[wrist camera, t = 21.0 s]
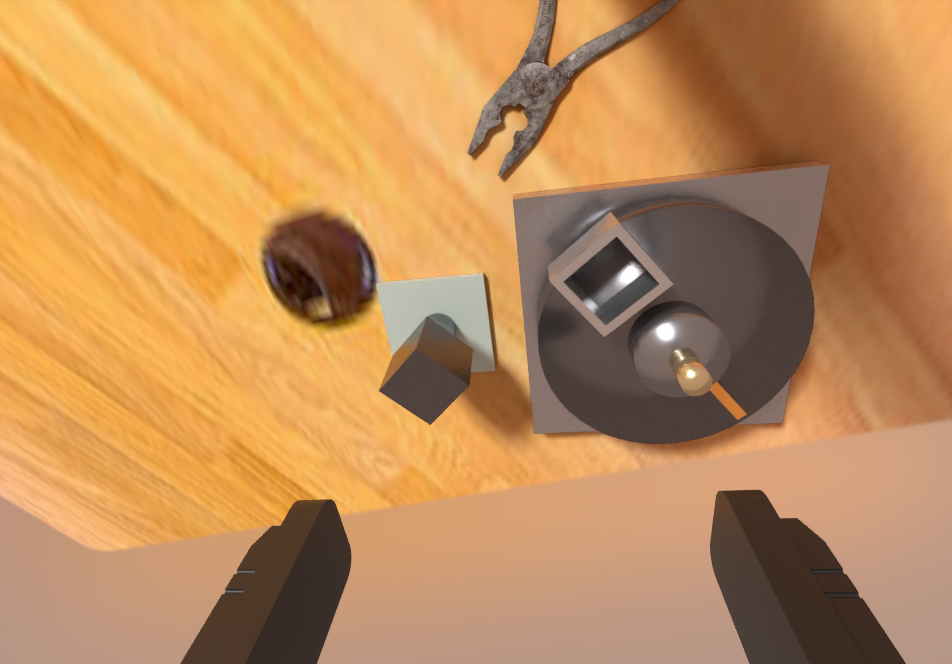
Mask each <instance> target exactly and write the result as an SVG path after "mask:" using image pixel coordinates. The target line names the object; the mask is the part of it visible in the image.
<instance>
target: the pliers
mask: <svg viewBox="0 0 952 664" xmlns="http://www.w3.org/2000/svg"><path fill="white" fill-rule="evenodd" d="M677 1H678V0H661V1H660V2H659V3H658V4H657V5H655V6H654V7H653V8H652V9H650V10H648V11H647V12H645V13H643V14H642V15H640V16H638V17H636V18H635V19H633V20H631V21H629V22H627V23H625V24H623V25H621V26H619V27H617V28H615V29H614V30H612V31H609V32H607V33H605V34H603V35H601V36H599V37H597V38H595V39H593V40H591V41H589V42H588V43H586V44H584V45H582V46H581V47H579V48H578V49H577V50H575V51H574V52H572V53H571V54H569V55H568V56H567V57H566V58H564V59H563V60H562V61H561V62H559V63H558V64H557V65H556V66H555V67H553V68H550V67H548V66H547V65H545V64H544V58H545V56H546V53H547V49H548V45H549V41H550V37H551V32H552V27H553V22H554V14H555V5H556V0H540V4H539V10H538V16H537V21H536V25H535V29H534V33H533V36H532V38H531V41H530V43H529V46H528V48H527V49H526V51H525V53H524V55H523V57H522V59H521V61H520V63H519V65H518V67H517V69H516V71H517V72H516V71H514V72H513V73H512V74H511V76H510V77H509V78H508V79H507V80H506V81H505V83H504V84H503V85H502V86H501V87H500V88H499V90H498V91H497V92H496V93H495V94H494V96H493V97H492V98H491V99H490V100H489V101H488V103H487V104H486V105H485V106H484V108H483V111H482V114H481V116H480V119H479V122H478V125H477V128H476V130H475V133H474V136H473V139H472V142H471V144H470V147H469V150H468V154H469V155H470V154H471V153H472V152H473V151H474V150H475V149H476V148H477V147H478V146H479V145H480V144H481V143H482V142H483V141H484V139H485V137H486V134H487V131H488V130H489V129H490V128H491V127H494V126H498V125H499V123H500V122H501V121H502V119H501V116H500V112H501V109H502V107H503V106H506V105H508V104H509V105H512V106H516V105H517V104H518V103H520V104H521V105H523V106H524V107H525V110H524V114H525V115H526V117H527V118H528V126H527V127H526V128H525V129H524V130H523V131H516V132H515V135H514V146H513V148H512V150H511V151H510V152H509V153H508V154H506V157H505V159H504V161H503V164H502V166H501V169H500V171H499V174H498V176H500V177H501V176H502V175H503V174H504V173H505V172H506V171H507V170H508V169H509V168H510V167H511V166H512V165H513V164H514V163H515V162H516V161H517V160H518V159H519V158H520V157H521V156H522V155H523V154H524V153H525V152H526V151H527V150H528V149H529V148H530V147H531V146H532V145H533V144H534V143H535V141H536V139H537V137H538V135H539V133H540V130H541V128H542V126H543V124H544V122H545V120H546V118H547V116H548V114H549V111H550V109H551V107H552V105H553V103H554V101H555V100H553V99H555V98H556V97H557V96H558V94H559V93H560V92H561V91H562V89H563V88H564V87H565V86H566V84H567V83H568V82H569V80H570V79H571V78H572V77H573V76H574V75H575V74H576V73H577V72H578V71H579V70H580V69H581V68H582V67H583V66H585V65H586V64H587V63H589V62H590V61H591V60H593V59H595V58H596V57H598V56H599V55H601V54H602V53H604V52H606V51H607V50H609V49H611V48H613V47H614V46H616V45H618V44H620V43H621V42H623V41H625V40H627V39H628V38H630V37H632V36H633V35H635V34H637V33H639V32H640V31H642V30H644V29H645V28H647V27H648V26H649V25H651V24H652V23H654V22H655V21H657V20H658V19H659V18H660V17H662V16H663V15H664V14H665V13H666V12H667V11H668V10H669V9H671V8H672V7H673V6H674V5H675V4H676V2H677ZM532 62H533V63H532ZM539 62H541V63H539ZM528 63H529V64H528ZM526 64H527V65H526ZM529 108H530V109H529ZM537 108H538V109H537Z"/></svg>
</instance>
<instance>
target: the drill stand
mask: <svg viewBox="0 0 952 664" xmlns="http://www.w3.org/2000/svg"><path fill="white" fill-rule="evenodd" d="M829 167H830V164H826V163H822V162H818V161H806V162H797V163H788V164H779V165H770V166H761V167H752V168H743V169H734V170H726V171H717V172H708V173H699V174H690V175H681V176H672V177H663V178H654V179H645V180H636V181H628V182H619V183H610V184H601V185H592V186H583V187H574V188H565V189H556V190H547V191H538V192H530V193H521V194H513V206H514V217H515V228H516V239H517V250H518V261H519V272H520V283H521V294H522V305H523V316H524V327H525V338H526V349H527V360H528V371H529V382H530V393H531V404H532V415H533V426H534V434H541V433H564V432H586V431H597V430H595V429H593V428H591V427H590V426H588V425H587V424H585V423H583V422H582V421H580V420H579V419H578V418H576V417H575V416H574V415H573V414H571V413H570V412H569V411H568V410H567V409H566V408H565V407H564V406H563V405H562V403H561V402H560V401H559V400H558V398H557V397H556V396H555V394H554V393H553V391H552V390H551V388H550V386H549V384H548V382H547V380H546V378H545V375H544V372H543V369H542V366H541V362H540V356H539V350H538V335H537V315H538V307H539V302H540V298H541V294H542V291H543V288H544V285H545V283H546V281H547V278H548V276H549V274H548V267H547V266H549V265H550V264H551V263H552V262H553V261H554V260H555V259H556V258H558V257H559V256H560V255H561V254H562V253H563V252H564V251H565V250H566V249H567V248H568V247H569V246H570V245H571V244H572V243H573V242H574V241H575V240H576V239H577V238H578V237H579V236H580V235H581V234H583V233H584V232H585V231H586V230H588V229H589V228H590V227H592V226H593V225H594V224H596V223H597V222H599V221H600V220H601V219H602V218H603V217H604V216H606V215H607V214H608V213H609V212H610V211H611V213H612V214H613V213H615V212H618V211H620V210H622V209H624V208H627V207H630V206H633V205H636V204H639V203H642V202H646V201H652V200H657V199H663V198H679V197H685V198H698V199H704V200H709V201H714V202H718V203H721V204H724V205H726V206H729V207H732V208H734V209H736V210H738V211H740V212H742V213H744V214H746V215H747V216H749V217H751V218H753V219H755V220H757V221H758V222H760V223H762V224H764V225H766V226H768V227H769V228H771V229H772V230H773V231H774V232H776V233H777V234H778V235H780V236H781V237H782V238H783V239H784V240H785V241H786V242H787V243H788V244H789V245H790V246H791V248H792V249H793V250H794V251H795V252H796V254H797V255H798V257H799V259H800V260H801V262H802V263H803V265H804V267H805V269H806V272H807V274H808V277H809V276H810V271H811V265H812V260H813V254H814V249H815V243H816V238H817V232H818V227H819V221H820V216H821V210H822V205H823V200H824V194H825V189H826V183H827V178H828V172H829ZM790 380H791V378H790V379H789V381H788V382H787V383H786V385H785V386H784V387H783V388H782V389H781V390H780V391H779V392H778V394H777V395H776V396H775V397H774V398H773V399H772V400H770V401H769V402H768V403H767V404H766V405H764V406H763V407H762V408H761V409H760V410H758V411H757V412H755V413H754V414H752V415H751V416H749V417H748V418H746V419H745V420H743V421H741V422H739V423H738V424H736V425H741V424H763V423H783V418H784V413H785V407H786V402H787V396H788V391H789V385H790Z"/></svg>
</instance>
